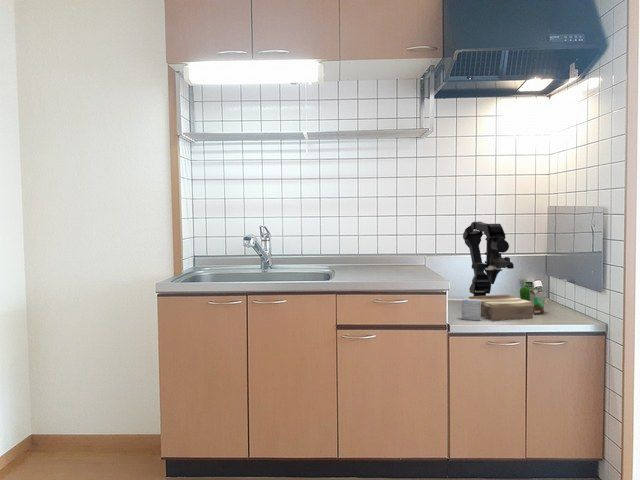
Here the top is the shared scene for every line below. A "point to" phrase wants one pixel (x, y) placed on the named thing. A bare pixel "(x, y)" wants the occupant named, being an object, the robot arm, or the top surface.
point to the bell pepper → (525, 292)
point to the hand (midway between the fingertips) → (492, 284)
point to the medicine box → (471, 309)
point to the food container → (537, 300)
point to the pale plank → (505, 302)
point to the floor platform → (504, 310)
